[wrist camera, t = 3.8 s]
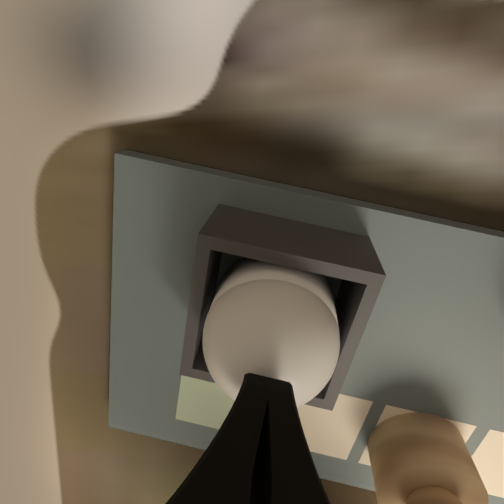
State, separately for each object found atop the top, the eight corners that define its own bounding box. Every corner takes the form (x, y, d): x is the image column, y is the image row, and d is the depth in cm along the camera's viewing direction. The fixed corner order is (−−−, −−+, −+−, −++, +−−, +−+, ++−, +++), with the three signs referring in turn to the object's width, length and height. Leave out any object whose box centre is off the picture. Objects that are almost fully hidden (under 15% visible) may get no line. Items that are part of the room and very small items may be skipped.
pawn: (440, 483, 21) (481, 599, 17) (355, 463, 21) (371, 572, 17) (479, 425, 19) (538, 538, 14) (384, 402, 19) (411, 508, 15)
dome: (316, 359, 17) (322, 460, 12) (210, 334, 17) (177, 425, 12) (349, 264, 15) (370, 344, 10) (227, 237, 15) (195, 304, 10)
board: (517, 510, 23) (564, 602, 19) (115, 413, 24) (77, 481, 20) (716, 277, 16) (862, 346, 12) (124, 149, 16) (66, 170, 12)
